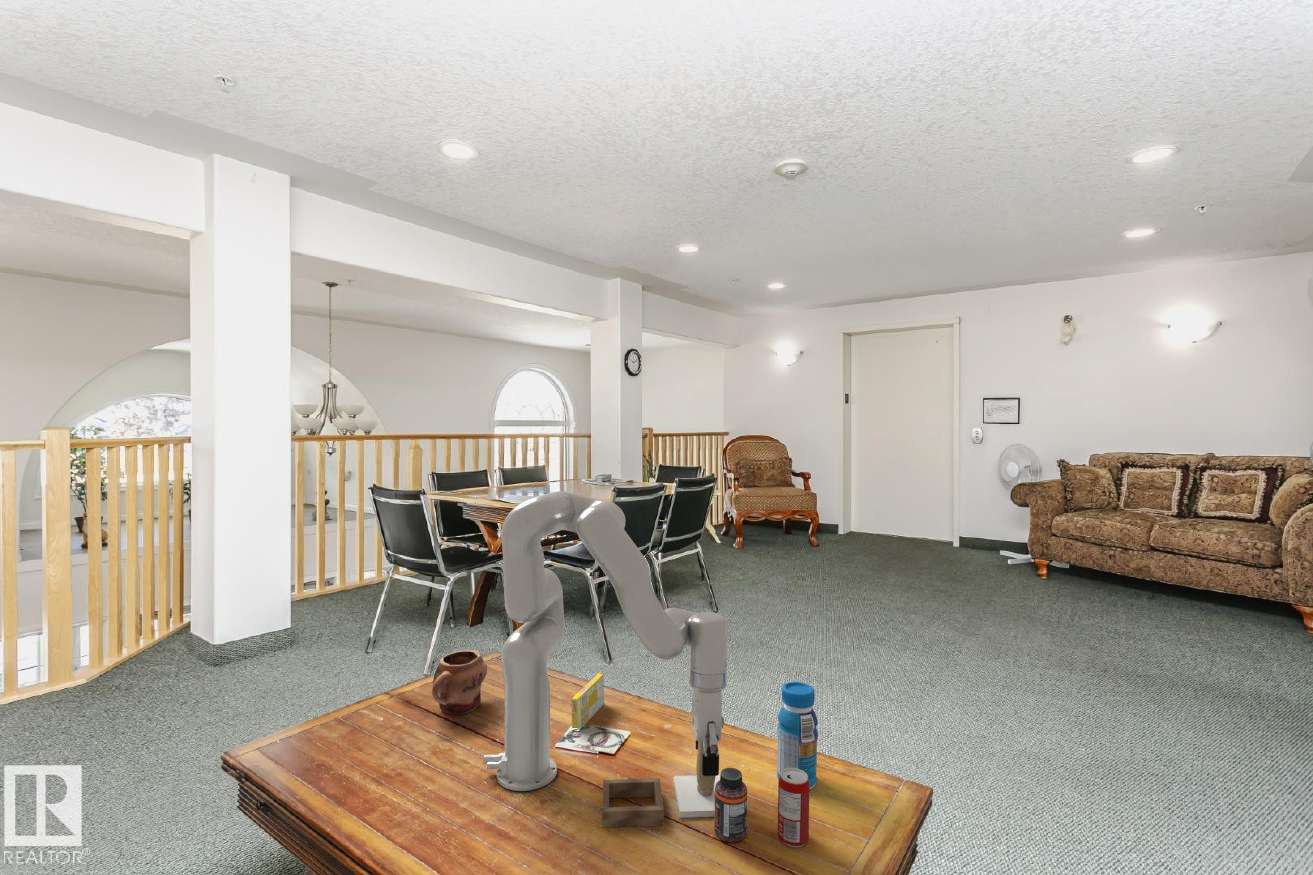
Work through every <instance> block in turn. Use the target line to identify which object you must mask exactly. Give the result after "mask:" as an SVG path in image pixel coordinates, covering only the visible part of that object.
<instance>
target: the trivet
mask: <svg viewBox="0 0 1313 875" xmlns="http://www.w3.org/2000/svg"><path fill="white" fill-rule="evenodd" d="M719 780H720V774H719V775H718V776H716V777H715V783H714V791H713V792H712V794H711V795H705V796H704V795H702V794H701V793H700V792H698V790H697V785H698V783H697V775H675V776H673V785H674V791H675V798H676V803H677V811H678V817H679V818H685V819H686V818H708V817H709V818H710V817H711V818H712V817H713V818H715V817H714V815H715V785H716V783H717V782H718V781H719Z"/></svg>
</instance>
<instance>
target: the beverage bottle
mask: <svg viewBox="0 0 1313 875" xmlns="http://www.w3.org/2000/svg"><path fill="white" fill-rule="evenodd" d="M815 694H816V691H815V688H814V687H813V686H812V685H811V684H808V683H805V682H801V681H790V682H785V683H784V684H783V685H782V687H781V701H782V704H783V705H782V706H781V708H780V710H779V712H778V716H777V720H778V724H777V727H776V734H777V767H776V768H777V771H776V778H777V780H778V782H779V777H780V774H781V771H782V770H783V769H785V768H797V769H800V770H803V771H804V772H805V773H806V774H807V775H808V780H809V784H810V790H812V789H814V787H815V786H816V785H817V781H818V780H817V778H818V777H817V765H818V764H817V759H818V740H819V731H818V729H817V726H818V724H819V722H818V721H819V720H818V716H817V714H816V712H815V710H814V709H813V707H814V705H815V701H816V700H815V696H816V695H815Z"/></svg>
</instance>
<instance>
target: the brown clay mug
mask: <svg viewBox="0 0 1313 875" xmlns="http://www.w3.org/2000/svg"><path fill="white" fill-rule="evenodd" d="M487 673H488V665H487V663H486V661H485V660H484V659H483V656H482V654H481V652H480V651H478V650H475V649H474V650H473V649H471V650H470V649H469V650H468V649H467V650H458V651H455V652H451V653H449V654H446V655H444V656H442V657H441V659H440V660H439V662H438V665H437V668H436V670H435V672H434V674H433V679H432V683H433V684H432V690H431V691H432V692H431V693H432V694H431V696H432V697H433V699H434V701H435V702H437V703H438V705H439V706H438V707H439V709H440V711H441V712H442V713H445V714H448V715H463V714H467V713H470V712H472V711H474V710H475V709H477V708H478V707H479V706H480V705H481V702H482V701H481V700H482V699H481V692H482V691H481V690H482V684H483V682H484V680H485V678H486V676H487V675H488V674H487Z"/></svg>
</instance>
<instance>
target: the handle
mask: <svg viewBox="0 0 1313 875" xmlns="http://www.w3.org/2000/svg"><path fill="white" fill-rule="evenodd" d="M692 724H693V725H694V717H693V716H692V723H691V725H692ZM724 726H725V718H724V717H723V716H722V728H721V730H722V729H723V728H724ZM707 728H708V725H707ZM705 738H709V736H705ZM708 746H710V743H707V748H708ZM696 754H697V755H696V768H695V769H696V771H695V772H696V773H695V774H696V775H695V776H697V783H698V785H697V790H698V792H700V793H701V794H702V795H704V796H705V795H711V794H712V792H713V791H714V783H715V777H716V776H703V775H702V754H704V748H703V741H700V742H699V743H698V750H697V753H696Z"/></svg>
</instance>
